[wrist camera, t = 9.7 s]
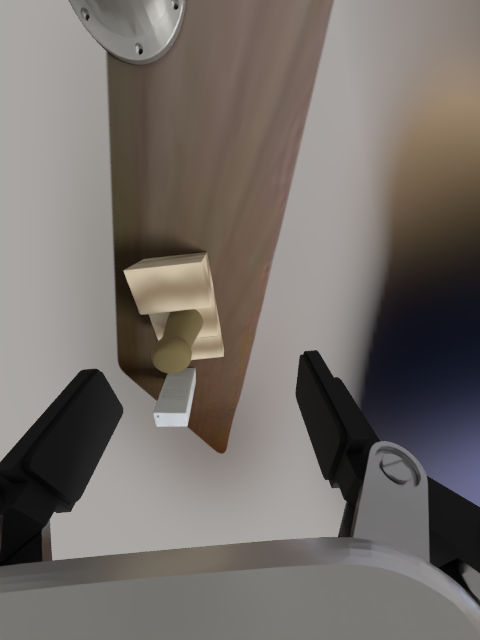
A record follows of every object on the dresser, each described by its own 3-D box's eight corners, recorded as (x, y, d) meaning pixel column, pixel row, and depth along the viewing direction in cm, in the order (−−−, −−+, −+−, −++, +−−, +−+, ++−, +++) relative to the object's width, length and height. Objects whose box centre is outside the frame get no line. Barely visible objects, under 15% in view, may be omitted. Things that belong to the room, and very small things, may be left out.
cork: (176, 338, 36) (157, 385, 27) (162, 310, 34) (134, 351, 24) (207, 330, 36) (199, 375, 26) (195, 301, 33) (181, 339, 23)
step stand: (143, 258, 34) (123, 270, 28) (207, 252, 34) (201, 261, 28) (175, 354, 44) (165, 379, 38) (223, 349, 44) (222, 373, 38)
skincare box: (171, 380, 48) (155, 427, 38) (169, 366, 46) (151, 412, 36) (196, 380, 49) (187, 427, 38) (196, 367, 47) (186, 412, 36)
